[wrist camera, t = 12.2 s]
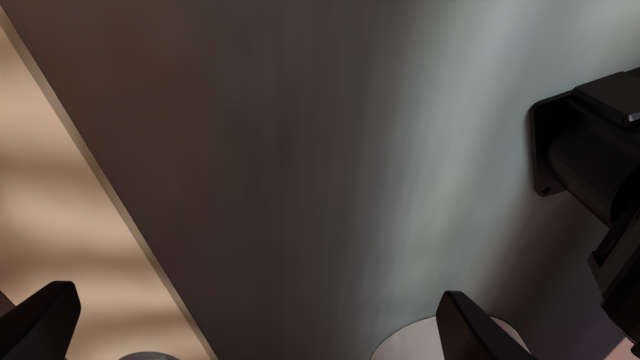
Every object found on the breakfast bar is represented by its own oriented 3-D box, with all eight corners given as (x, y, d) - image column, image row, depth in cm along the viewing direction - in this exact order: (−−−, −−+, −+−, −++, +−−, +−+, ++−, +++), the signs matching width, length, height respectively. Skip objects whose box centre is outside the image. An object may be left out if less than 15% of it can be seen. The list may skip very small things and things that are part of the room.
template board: (232, 383, 34) (231, 392, 33) (123, 404, 34) (120, 414, 34) (-32, -48, 16) (-47, -47, 16) (-245, 10, 17) (-269, 14, 16)
